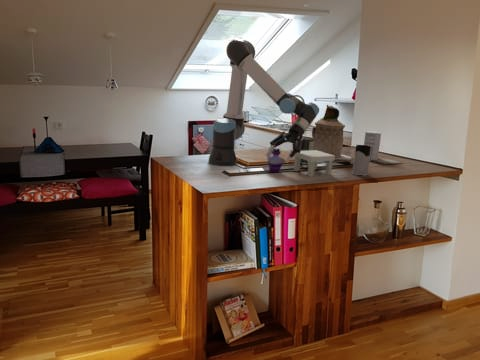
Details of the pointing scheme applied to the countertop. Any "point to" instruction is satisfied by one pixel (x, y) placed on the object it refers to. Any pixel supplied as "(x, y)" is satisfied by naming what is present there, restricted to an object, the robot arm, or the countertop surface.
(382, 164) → the countertop surface
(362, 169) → the glass holder
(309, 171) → the footstool
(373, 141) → the supplement box
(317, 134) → the cookie jar
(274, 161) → the potion bottle
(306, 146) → the coffee can
